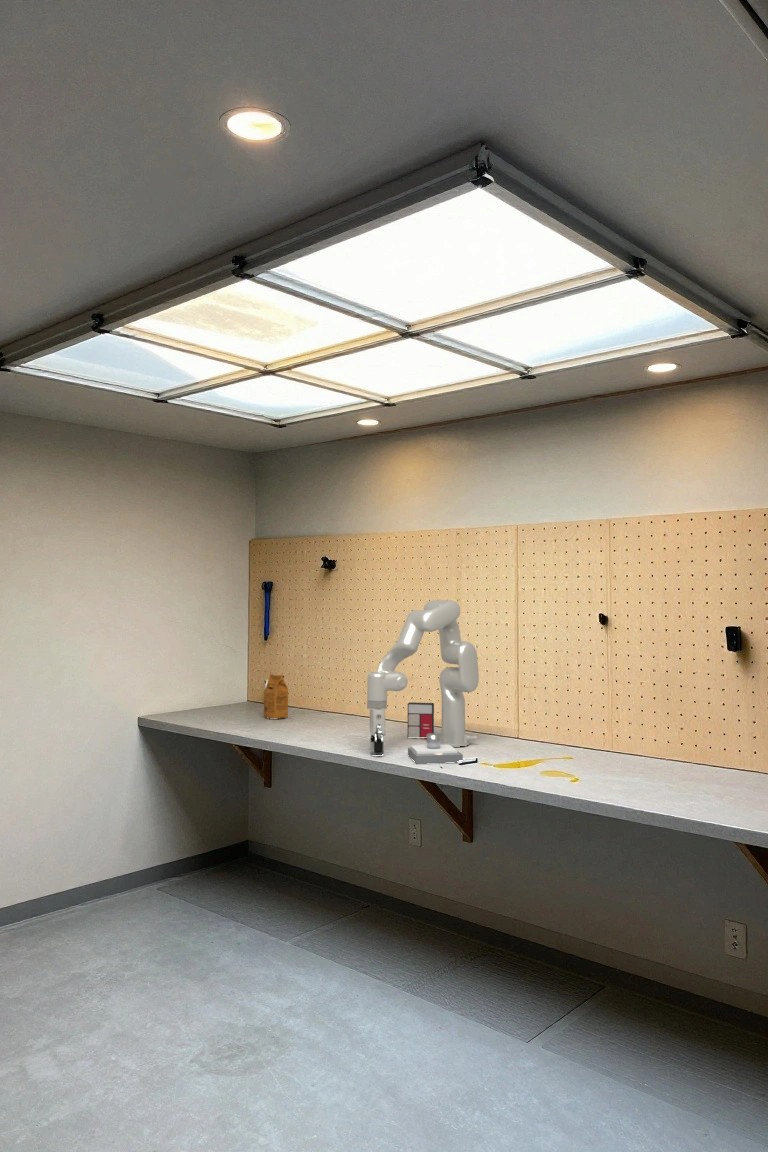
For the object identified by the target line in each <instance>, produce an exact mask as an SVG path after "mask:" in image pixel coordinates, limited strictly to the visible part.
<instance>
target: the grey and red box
mask: <svg viewBox="0 0 768 1152" xmlns="http://www.w3.org/2000/svg"><path fill="white" fill-rule="evenodd" d="M434 716H435V703H433V702H411V701H410V702H408V703H407V738H408V737H427V734H429V733H435V729H434V728H435V717H434Z"/></svg>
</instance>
